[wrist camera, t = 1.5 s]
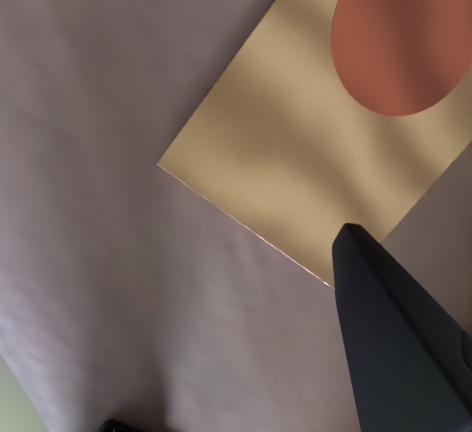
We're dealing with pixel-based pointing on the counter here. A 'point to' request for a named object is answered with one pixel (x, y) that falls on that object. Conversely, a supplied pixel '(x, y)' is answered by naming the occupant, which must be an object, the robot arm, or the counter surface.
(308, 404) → the counter surface
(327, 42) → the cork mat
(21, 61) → the counter surface
